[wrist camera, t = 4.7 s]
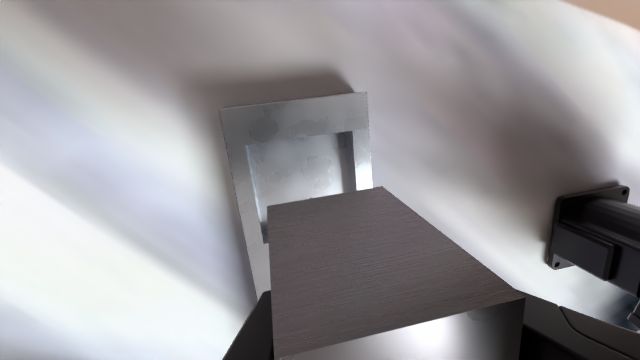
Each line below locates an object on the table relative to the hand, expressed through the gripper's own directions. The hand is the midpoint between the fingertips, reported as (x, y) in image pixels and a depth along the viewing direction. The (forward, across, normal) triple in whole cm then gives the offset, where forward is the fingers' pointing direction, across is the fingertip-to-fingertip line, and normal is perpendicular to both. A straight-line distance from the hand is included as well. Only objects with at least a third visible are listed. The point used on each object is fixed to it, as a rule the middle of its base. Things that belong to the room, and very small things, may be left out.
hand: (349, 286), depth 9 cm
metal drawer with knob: (+2, 0, 0) cm, 2 cm away
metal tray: (+12, 0, +5) cm, 13 cm away
